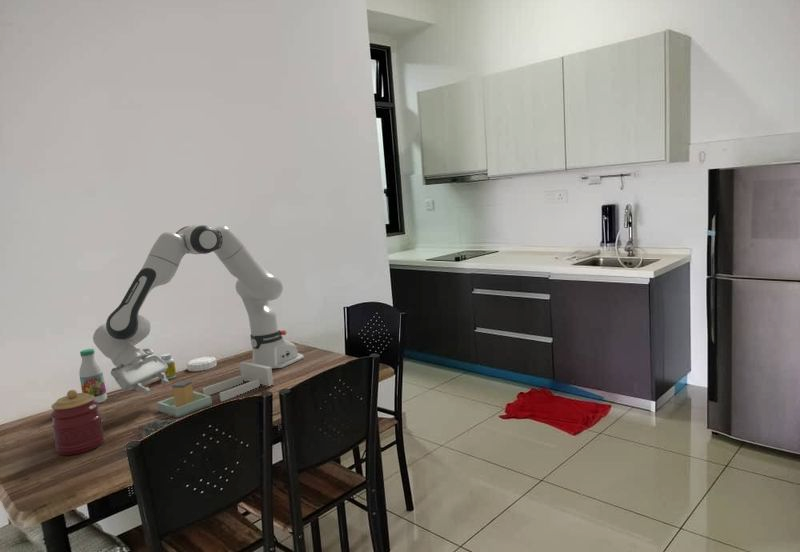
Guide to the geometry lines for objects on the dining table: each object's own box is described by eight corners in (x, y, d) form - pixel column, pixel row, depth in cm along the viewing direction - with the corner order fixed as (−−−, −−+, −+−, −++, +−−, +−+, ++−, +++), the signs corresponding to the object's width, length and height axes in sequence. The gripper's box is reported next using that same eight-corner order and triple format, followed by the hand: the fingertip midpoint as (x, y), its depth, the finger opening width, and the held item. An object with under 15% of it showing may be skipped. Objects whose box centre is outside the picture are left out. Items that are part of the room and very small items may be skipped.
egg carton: (138, 440, 172) (135, 427, 171) (151, 429, 179) (149, 417, 178) (170, 438, 170) (168, 425, 170) (183, 428, 178) (181, 415, 177)
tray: (193, 398, 205) (191, 390, 205) (212, 404, 196) (211, 396, 196) (158, 410, 195) (157, 402, 195) (176, 417, 187) (175, 409, 186)
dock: (246, 378, 223) (243, 361, 222) (273, 385, 212) (271, 367, 211) (199, 394, 209) (197, 376, 208) (226, 402, 197) (223, 383, 196)
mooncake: (183, 373, 241) (182, 364, 241) (193, 364, 253) (192, 357, 253) (211, 370, 241) (210, 362, 241) (220, 362, 253) (219, 354, 253)
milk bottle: (81, 403, 213) (72, 351, 210) (103, 396, 218) (94, 346, 215) (88, 406, 207) (79, 354, 205) (110, 400, 213) (101, 348, 210)
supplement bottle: (171, 379, 233) (167, 356, 232) (159, 379, 234) (156, 356, 233) (179, 374, 238) (175, 352, 237) (167, 375, 239) (164, 353, 238)
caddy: (183, 402, 199) (180, 381, 198) (194, 403, 197) (191, 381, 196) (175, 407, 194) (172, 385, 193) (186, 407, 193) (183, 385, 192)
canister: (53, 460, 162) (42, 401, 159) (60, 444, 174) (49, 389, 171) (103, 448, 167) (93, 391, 164) (107, 433, 179) (97, 380, 176)
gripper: (112, 364, 188) (141, 392, 187) (154, 347, 208) (180, 372, 206) (103, 377, 190) (132, 405, 189) (146, 359, 210) (172, 384, 208)
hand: (157, 388), depth 198 cm, fingers open, 8 cm apart
